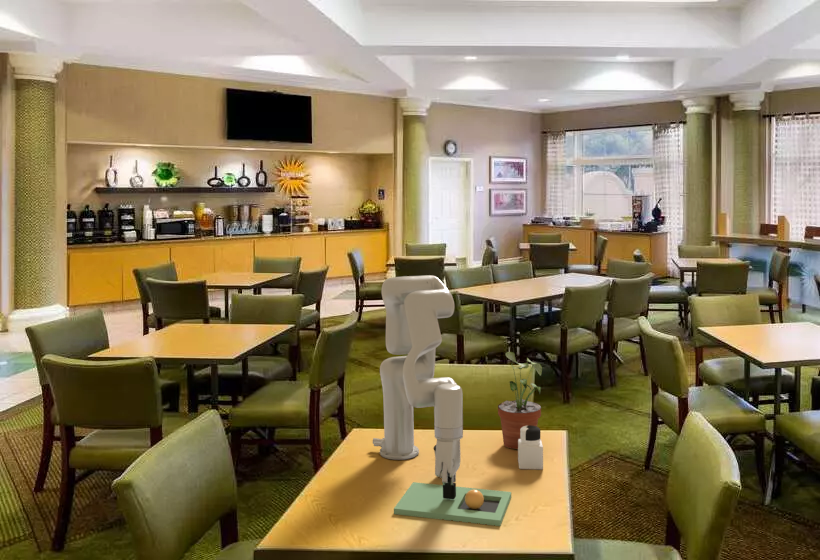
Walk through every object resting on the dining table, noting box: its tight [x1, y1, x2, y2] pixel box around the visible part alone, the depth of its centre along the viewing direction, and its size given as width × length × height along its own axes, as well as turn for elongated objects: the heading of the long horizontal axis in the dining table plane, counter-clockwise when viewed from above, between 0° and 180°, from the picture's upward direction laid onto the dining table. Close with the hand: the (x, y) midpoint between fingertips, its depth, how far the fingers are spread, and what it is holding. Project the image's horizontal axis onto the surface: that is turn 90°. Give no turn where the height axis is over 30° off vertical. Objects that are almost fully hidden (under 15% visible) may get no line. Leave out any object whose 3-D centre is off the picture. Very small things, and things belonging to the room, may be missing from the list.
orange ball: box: [465, 490, 484, 509], centre depth 190 cm, size 5×5×5 cm
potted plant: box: [497, 351, 543, 450], centre depth 236 cm, size 16×15×35 cm
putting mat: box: [393, 481, 512, 527], centre depth 193 cm, size 28×18×2 cm, turn 73°
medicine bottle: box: [517, 425, 544, 470], centre depth 220 cm, size 7×7×12 cm
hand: (449, 497), depth 193 cm, fingers closed
